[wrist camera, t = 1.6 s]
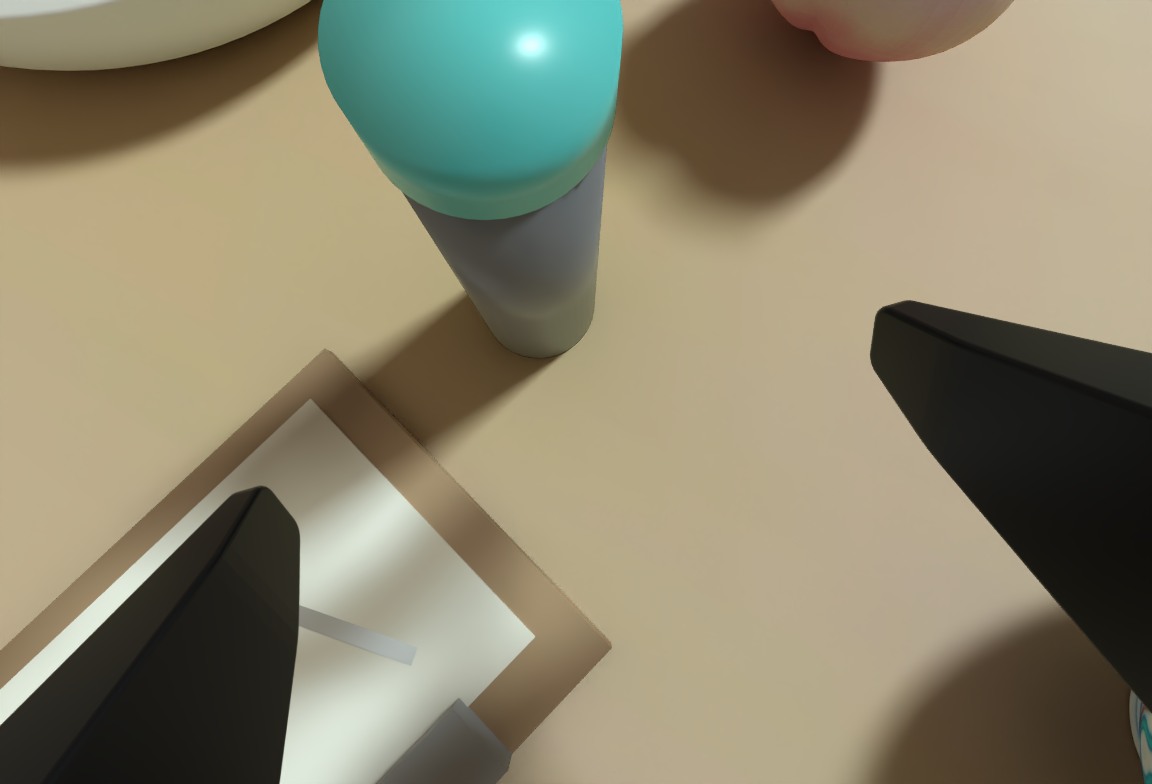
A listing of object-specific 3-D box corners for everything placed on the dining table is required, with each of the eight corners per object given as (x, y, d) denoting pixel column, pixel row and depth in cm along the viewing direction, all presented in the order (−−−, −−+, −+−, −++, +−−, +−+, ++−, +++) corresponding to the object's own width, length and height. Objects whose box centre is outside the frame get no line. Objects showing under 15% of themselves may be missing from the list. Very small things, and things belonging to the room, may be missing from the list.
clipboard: (610, 642, 19) (613, 658, 17) (221, 1055, 17) (185, 1113, 16) (332, 352, 21) (311, 342, 19) (-51, 709, 19) (-108, 730, 17)
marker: (621, 303, 21) (686, 25, 8) (538, 384, 20) (464, 232, 7) (539, 226, 21) (475, -158, 8) (457, 304, 21) (255, 28, 8)
